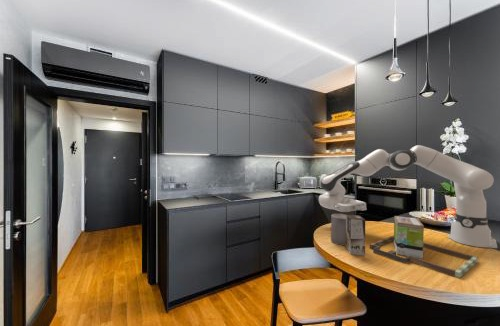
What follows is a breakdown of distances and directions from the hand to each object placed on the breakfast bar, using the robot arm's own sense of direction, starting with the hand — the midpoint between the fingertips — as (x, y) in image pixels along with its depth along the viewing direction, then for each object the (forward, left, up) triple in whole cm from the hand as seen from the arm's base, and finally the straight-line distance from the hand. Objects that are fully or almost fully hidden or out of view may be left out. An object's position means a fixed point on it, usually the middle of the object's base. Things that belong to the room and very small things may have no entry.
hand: (365, 208), depth 120 cm
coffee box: (+21, +7, -16) cm, 28 cm away
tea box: (0, +20, -16) cm, 26 cm away
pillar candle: (+16, -4, -16) cm, 23 cm away
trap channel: (+2, +25, -16) cm, 30 cm away
